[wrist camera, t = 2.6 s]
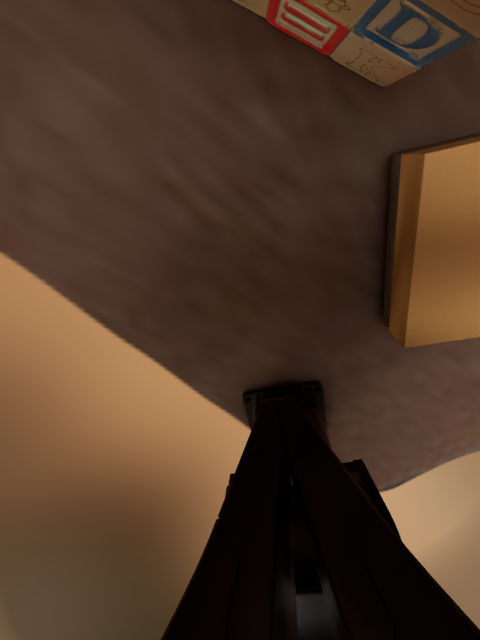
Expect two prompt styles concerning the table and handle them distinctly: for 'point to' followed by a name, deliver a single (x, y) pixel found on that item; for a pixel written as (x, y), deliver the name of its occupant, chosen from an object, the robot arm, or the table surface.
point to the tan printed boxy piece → (376, 31)
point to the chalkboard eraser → (434, 244)
